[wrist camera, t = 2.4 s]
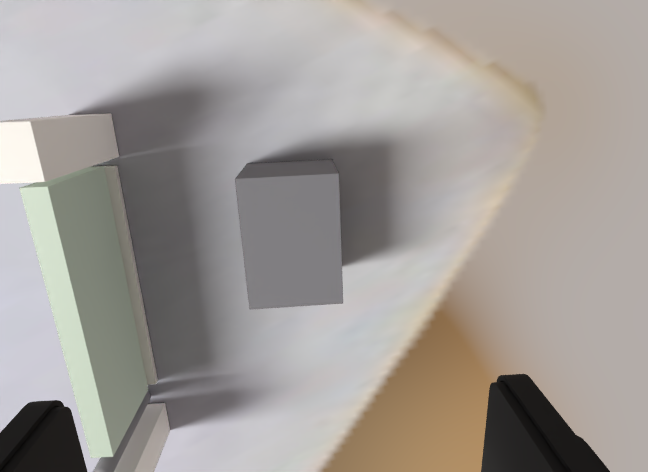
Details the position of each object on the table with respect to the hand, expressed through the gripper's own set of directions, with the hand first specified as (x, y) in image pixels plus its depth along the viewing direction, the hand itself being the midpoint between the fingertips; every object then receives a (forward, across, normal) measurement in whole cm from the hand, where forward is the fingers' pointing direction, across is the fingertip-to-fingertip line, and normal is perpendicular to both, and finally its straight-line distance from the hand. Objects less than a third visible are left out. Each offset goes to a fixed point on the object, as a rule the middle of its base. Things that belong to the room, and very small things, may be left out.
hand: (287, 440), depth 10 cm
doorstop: (+18, 0, 0) cm, 18 cm away
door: (+17, +11, +4) cm, 21 cm away
